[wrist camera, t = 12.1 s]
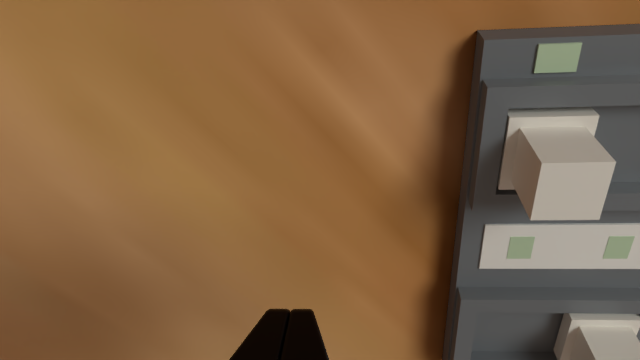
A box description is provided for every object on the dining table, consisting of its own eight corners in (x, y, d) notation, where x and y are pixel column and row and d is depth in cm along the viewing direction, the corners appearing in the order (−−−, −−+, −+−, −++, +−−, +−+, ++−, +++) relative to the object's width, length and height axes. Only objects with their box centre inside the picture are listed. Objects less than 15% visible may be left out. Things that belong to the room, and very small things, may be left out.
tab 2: (617, 350, 24) (650, 413, 21) (553, 350, 24) (578, 411, 22) (634, 306, 23) (672, 368, 20) (565, 306, 23) (594, 367, 20)
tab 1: (572, 177, 19) (608, 229, 16) (493, 178, 20) (516, 229, 17) (590, 106, 18) (633, 150, 15) (504, 108, 18) (530, 151, 15)
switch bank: (613, 362, 27) (630, 396, 25) (442, 359, 27) (447, 391, 26) (744, 20, 17) (787, 35, 15) (477, 30, 18) (489, 47, 16)
